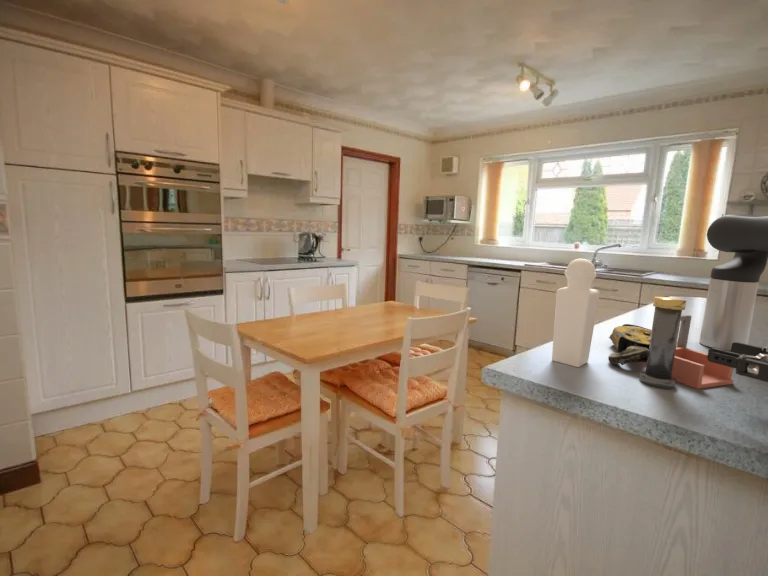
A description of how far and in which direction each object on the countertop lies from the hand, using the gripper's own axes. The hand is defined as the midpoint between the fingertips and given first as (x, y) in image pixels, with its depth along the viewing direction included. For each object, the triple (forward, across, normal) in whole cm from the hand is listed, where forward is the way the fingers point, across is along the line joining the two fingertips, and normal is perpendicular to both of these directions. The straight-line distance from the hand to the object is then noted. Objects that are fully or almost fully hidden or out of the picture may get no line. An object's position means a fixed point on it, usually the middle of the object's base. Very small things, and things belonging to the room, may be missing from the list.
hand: (720, 350), depth 66 cm
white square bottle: (+24, +5, +9) cm, 26 cm away
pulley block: (+20, -15, +9) cm, 27 cm away
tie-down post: (+8, 0, +9) cm, 12 cm away
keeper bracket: (+8, -10, +9) cm, 15 cm away
